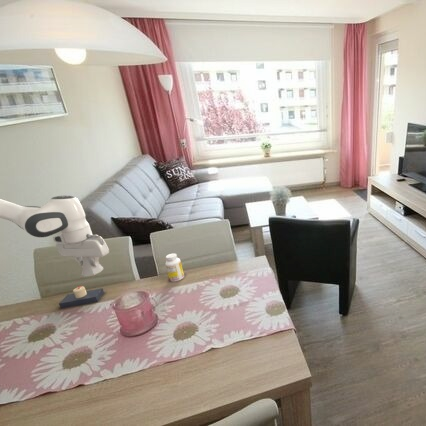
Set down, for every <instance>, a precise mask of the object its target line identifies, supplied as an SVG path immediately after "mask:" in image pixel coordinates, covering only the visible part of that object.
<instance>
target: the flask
mask: <svg viewBox="0 0 426 426" xmlns="http://www.w3.org/2000/svg"><path fill="white" fill-rule="evenodd" d="M82 258H83V266H81V267H82V268H81V277H91V276H95V275H97V274H100V273H102V271H103V270H104V269H105V268H104V266H102V264H100V263H99V265H97V266H93V264H92V262H93V259H92V257H82Z"/></svg>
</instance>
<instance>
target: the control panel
mask: <svg viewBox="0 0 426 426" xmlns="http://www.w3.org/2000/svg"><path fill="white" fill-rule="evenodd" d="M86 293H87V294H86V295H85V296H84V297H81V298H76V297H75V295H74V292H72V293H68V294H66V295H65V296H64V298H63V299H61V300H60V302H59V303H58V305H59V308H60V309H66V308H72V307H77V306H83V305H88V304H93V303H98V302H99V301H100V299H101V298H102V297H103V295H104V294H105V291H104V288H102V287H101V288H96V289H90V290H86Z"/></svg>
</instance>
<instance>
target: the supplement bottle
mask: <svg viewBox="0 0 426 426" xmlns="http://www.w3.org/2000/svg"><path fill="white" fill-rule="evenodd" d="M165 260H166V261H165V265H164V266H165V268H166V271H167V275H168V278H169V281H170V282H178V281H181V280H182V279H184V278H185V272H184V269H183V265H182V261H181V259H180V258H179V257H178V255H177V253H169V254H167V255H166V256H165Z"/></svg>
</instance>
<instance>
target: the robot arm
mask: <svg viewBox="0 0 426 426" xmlns="http://www.w3.org/2000/svg"><path fill="white" fill-rule="evenodd" d="M0 219H3V220H6V221H9V222H11V223H14V224H15V225H16V226H17V227H19V228H20V229H22V230H24V231H25V232H26V233H27V234H29V235H30V236H33V237H35V238H47V237H50V236H53V235H55V234H57V233H59V234H57V235H55V236H53V237H52V239H53V241H54V242H55V246H56V248H57V251H58V254H59V255H61V257H63V258H74V261H76V262H78V264H79V266H80V267H82V266H83V258H82V257H92V259H93V262H92V264H93V266H97V265H99V264H100V261H99V260H100V258H103V257H105V256H107V255H108V254H109V253H110V249H109V247H108V245H107V243H106V241H105V240H104V238H103V237H102V236H101V235H99V234H93V232H92V229H91V225H90V223H89V222H88V221H87V219H86V212H85V210H84V207H83V205H82V204H81V201H80V200H79V199H78V198H77V197H76V196H72V195H57V196H52V197H51V198H50V199H49V201H47V202H46V203H45V204H44V205H42V206H39V205H37V206H36V205H21V204H18V203H15V202H12V201H9V200H7V199H6V200H5V199H3V198H0ZM60 232H61V233H60Z"/></svg>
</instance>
